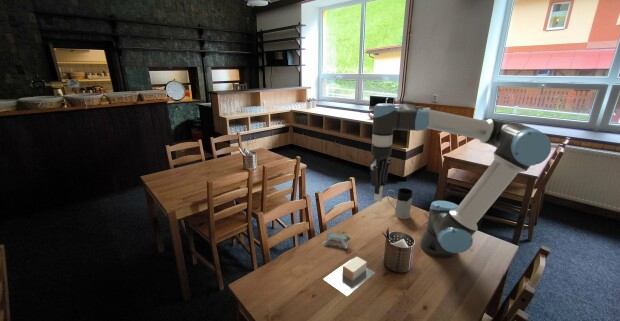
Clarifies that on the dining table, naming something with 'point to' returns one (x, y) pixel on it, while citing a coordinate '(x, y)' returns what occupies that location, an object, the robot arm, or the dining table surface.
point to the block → (354, 268)
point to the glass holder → (402, 203)
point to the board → (347, 280)
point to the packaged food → (337, 240)
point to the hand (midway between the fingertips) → (377, 200)
